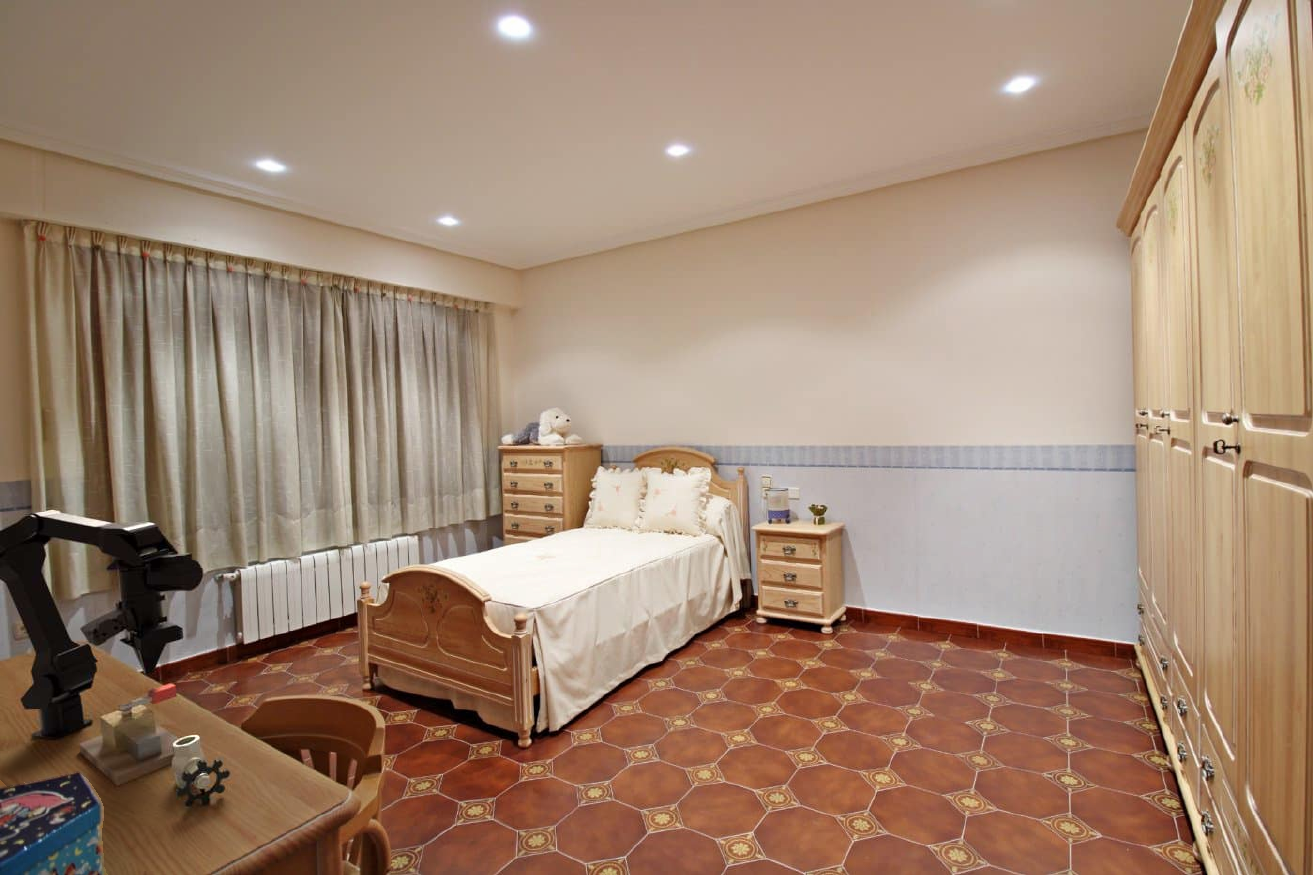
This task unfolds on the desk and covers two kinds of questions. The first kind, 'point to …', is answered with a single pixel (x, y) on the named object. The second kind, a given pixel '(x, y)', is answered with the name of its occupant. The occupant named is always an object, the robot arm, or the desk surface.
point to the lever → (152, 697)
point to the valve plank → (127, 758)
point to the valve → (195, 770)
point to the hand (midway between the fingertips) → (149, 673)
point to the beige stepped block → (131, 732)
